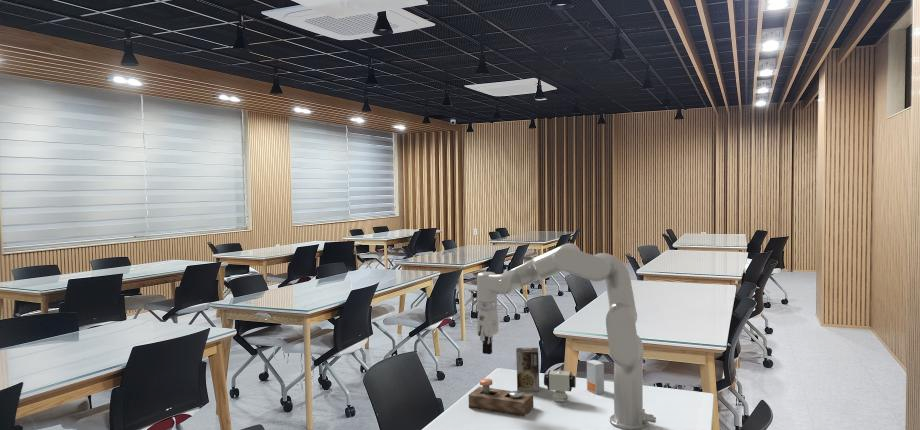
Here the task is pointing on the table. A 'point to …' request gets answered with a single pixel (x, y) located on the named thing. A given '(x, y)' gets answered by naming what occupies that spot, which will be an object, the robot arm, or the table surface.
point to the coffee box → (527, 369)
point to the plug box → (500, 402)
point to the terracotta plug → (486, 385)
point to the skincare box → (595, 376)
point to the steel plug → (515, 394)
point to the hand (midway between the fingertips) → (487, 353)
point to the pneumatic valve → (560, 383)
